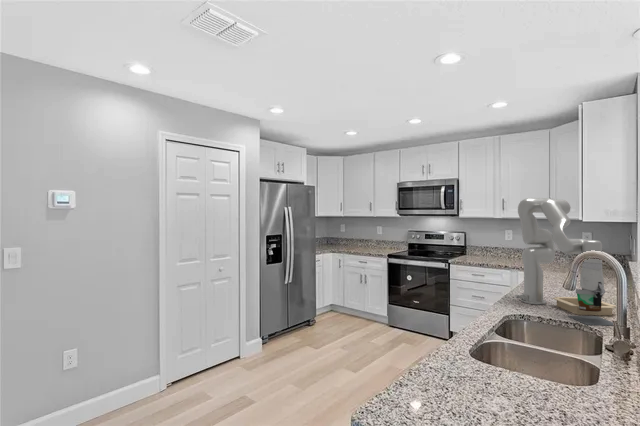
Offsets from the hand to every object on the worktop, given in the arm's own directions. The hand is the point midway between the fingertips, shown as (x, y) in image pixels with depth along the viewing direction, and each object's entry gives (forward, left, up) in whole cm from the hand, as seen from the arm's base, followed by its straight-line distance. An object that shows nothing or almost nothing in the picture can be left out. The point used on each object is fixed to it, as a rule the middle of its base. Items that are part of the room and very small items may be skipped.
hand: (592, 303), depth 168 cm
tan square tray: (+8, +19, -8) cm, 22 cm away
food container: (0, -1, -3) cm, 3 cm away
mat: (0, 0, -8) cm, 8 cm away
